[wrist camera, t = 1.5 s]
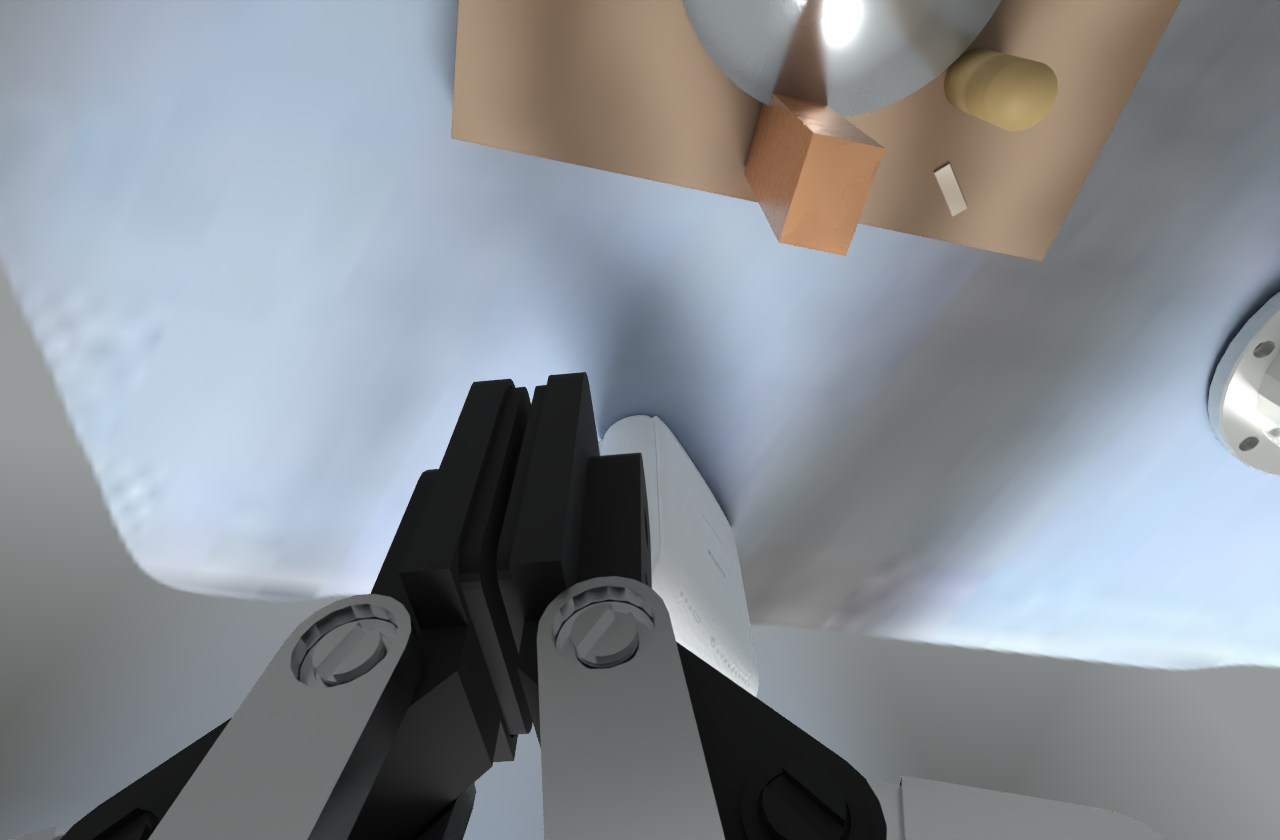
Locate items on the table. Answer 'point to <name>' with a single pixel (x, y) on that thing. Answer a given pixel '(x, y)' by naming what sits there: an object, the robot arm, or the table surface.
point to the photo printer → (690, 551)
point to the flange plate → (827, 93)
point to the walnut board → (908, 129)
